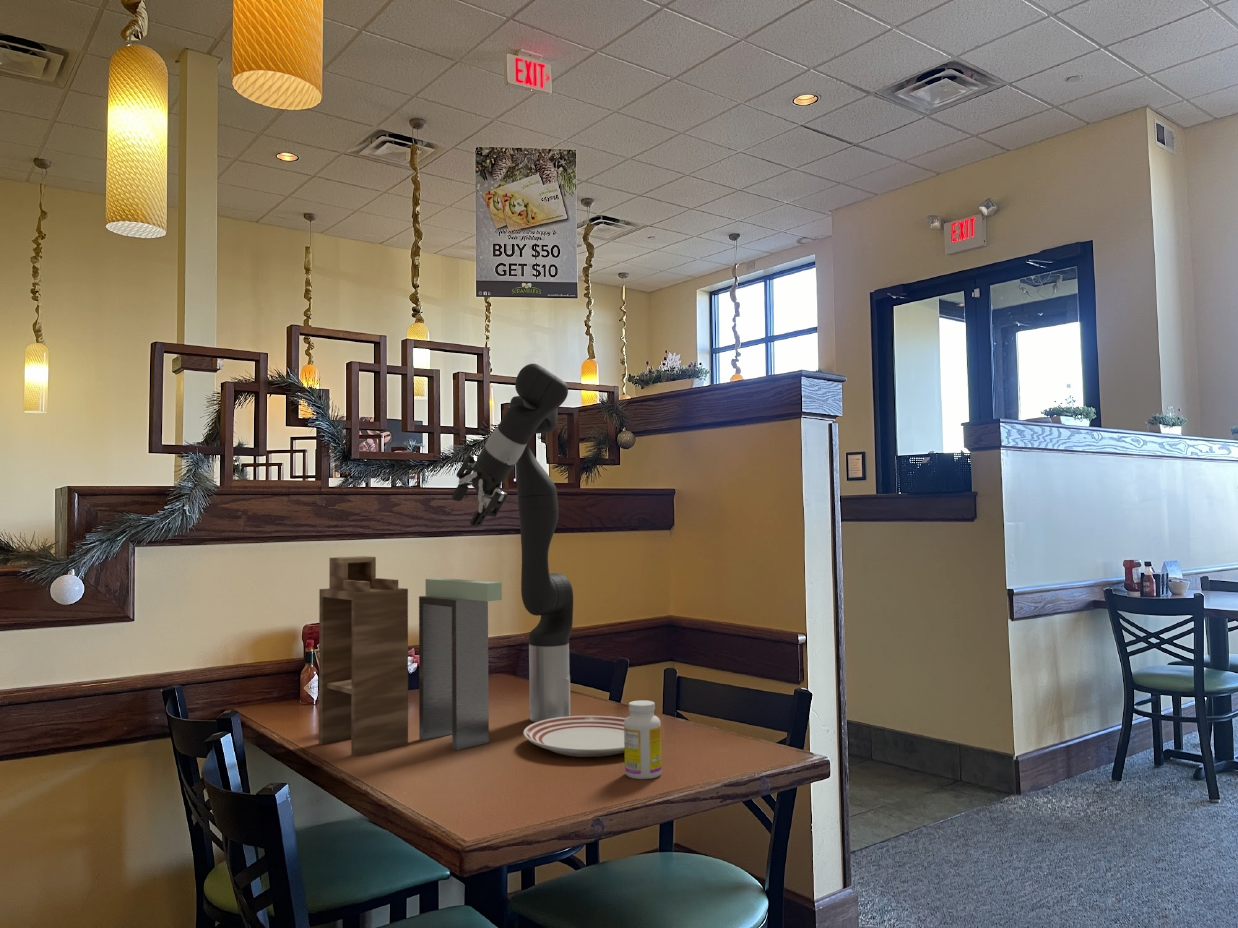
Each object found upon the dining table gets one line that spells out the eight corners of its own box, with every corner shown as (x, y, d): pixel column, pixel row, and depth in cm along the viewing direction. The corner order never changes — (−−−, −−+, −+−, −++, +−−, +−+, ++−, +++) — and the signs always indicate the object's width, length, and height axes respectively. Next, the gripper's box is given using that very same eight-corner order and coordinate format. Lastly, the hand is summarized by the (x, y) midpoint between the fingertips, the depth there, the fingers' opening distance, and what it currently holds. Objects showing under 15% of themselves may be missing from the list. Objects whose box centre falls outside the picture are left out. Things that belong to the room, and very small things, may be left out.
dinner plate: (671, 733, 193) (670, 717, 194) (639, 768, 167) (638, 750, 167) (550, 726, 201) (550, 711, 201) (501, 759, 175) (501, 742, 175)
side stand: (488, 742, 187) (487, 596, 188) (456, 750, 181) (456, 599, 183) (450, 732, 196) (450, 593, 198) (419, 739, 190) (419, 596, 192)
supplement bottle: (660, 769, 166) (659, 698, 166) (663, 779, 159) (662, 706, 160) (623, 770, 165) (622, 699, 166) (625, 780, 159) (624, 706, 159)
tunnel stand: (408, 744, 186) (407, 557, 188) (355, 756, 178) (355, 560, 180) (370, 732, 197) (370, 555, 199) (318, 743, 188) (319, 558, 190)
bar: (501, 599, 181) (501, 582, 182) (487, 601, 179) (487, 583, 179) (439, 594, 197) (439, 577, 197) (425, 595, 194) (425, 578, 194)
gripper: (472, 429, 188) (436, 489, 193) (504, 470, 179) (465, 532, 185) (499, 435, 193) (463, 493, 199) (531, 475, 185) (493, 535, 190)
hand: (464, 512), depth 192 cm, fingers open, 8 cm apart
